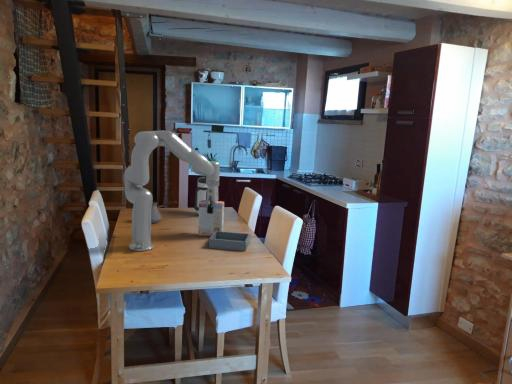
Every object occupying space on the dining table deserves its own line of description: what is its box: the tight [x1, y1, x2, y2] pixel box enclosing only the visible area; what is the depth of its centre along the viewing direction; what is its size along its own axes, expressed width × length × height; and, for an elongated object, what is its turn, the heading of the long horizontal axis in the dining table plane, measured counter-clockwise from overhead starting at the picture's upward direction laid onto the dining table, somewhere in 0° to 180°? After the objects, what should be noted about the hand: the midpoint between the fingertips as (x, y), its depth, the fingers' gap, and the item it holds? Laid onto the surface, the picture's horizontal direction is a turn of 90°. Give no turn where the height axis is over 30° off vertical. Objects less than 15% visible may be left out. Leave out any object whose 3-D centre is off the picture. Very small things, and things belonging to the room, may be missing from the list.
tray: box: [208, 231, 251, 252], centre depth 221 cm, size 16×20×5 cm
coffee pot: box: [151, 200, 178, 225], centre depth 258 cm, size 21×12×15 cm, turn 90°
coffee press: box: [193, 176, 208, 216], centre depth 280 cm, size 17×16×30 cm
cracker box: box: [198, 200, 225, 238], centre depth 235 cm, size 14×6×21 cm, turn 84°
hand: (211, 211), depth 234 cm, fingers open, 9 cm apart
